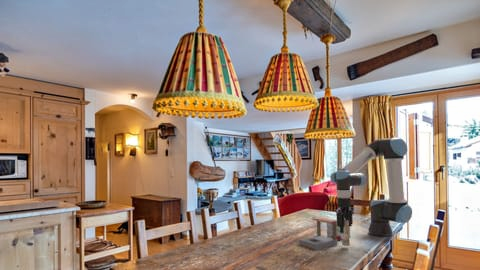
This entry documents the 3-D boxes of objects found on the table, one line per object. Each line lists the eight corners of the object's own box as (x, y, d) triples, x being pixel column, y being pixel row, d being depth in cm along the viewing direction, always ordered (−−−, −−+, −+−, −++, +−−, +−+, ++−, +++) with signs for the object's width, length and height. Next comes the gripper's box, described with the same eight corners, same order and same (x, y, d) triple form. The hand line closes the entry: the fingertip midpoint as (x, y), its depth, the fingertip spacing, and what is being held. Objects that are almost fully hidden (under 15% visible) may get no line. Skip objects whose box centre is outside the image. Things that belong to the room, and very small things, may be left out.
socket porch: (318, 239, 194) (318, 217, 195) (337, 244, 182) (336, 220, 184) (298, 244, 183) (298, 220, 185) (317, 250, 172) (316, 224, 173)
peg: (345, 243, 179) (343, 219, 180) (351, 244, 175) (349, 220, 176) (340, 244, 176) (339, 220, 177) (346, 246, 173) (345, 221, 174)
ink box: (346, 239, 195) (345, 220, 196) (335, 240, 192) (334, 221, 193) (337, 236, 203) (336, 218, 204) (326, 237, 200) (326, 219, 201)
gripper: (347, 195, 186) (348, 234, 184) (329, 197, 176) (330, 239, 174) (358, 196, 180) (360, 237, 178) (340, 199, 170) (342, 242, 168)
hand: (345, 238), depth 176 cm, fingers closed on peg, 4 cm apart
